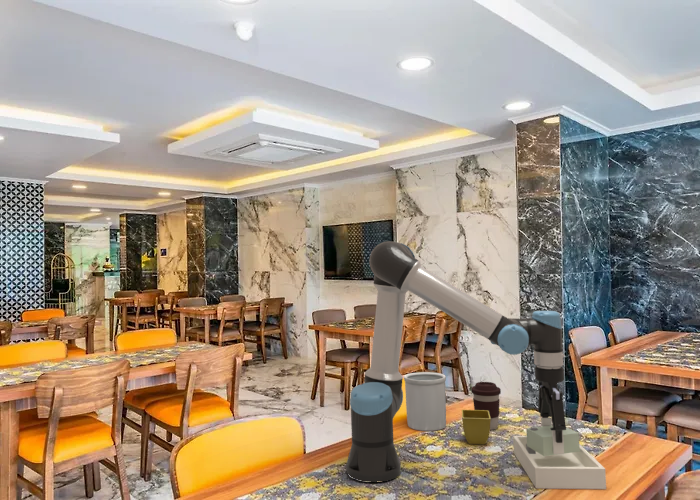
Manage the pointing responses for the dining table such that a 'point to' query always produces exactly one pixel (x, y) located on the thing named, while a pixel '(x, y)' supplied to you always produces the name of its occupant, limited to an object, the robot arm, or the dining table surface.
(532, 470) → the tray
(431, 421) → the utensil holder
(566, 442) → the dotted green block
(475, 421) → the flower pot
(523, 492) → the dining table surface
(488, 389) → the coffee cup
